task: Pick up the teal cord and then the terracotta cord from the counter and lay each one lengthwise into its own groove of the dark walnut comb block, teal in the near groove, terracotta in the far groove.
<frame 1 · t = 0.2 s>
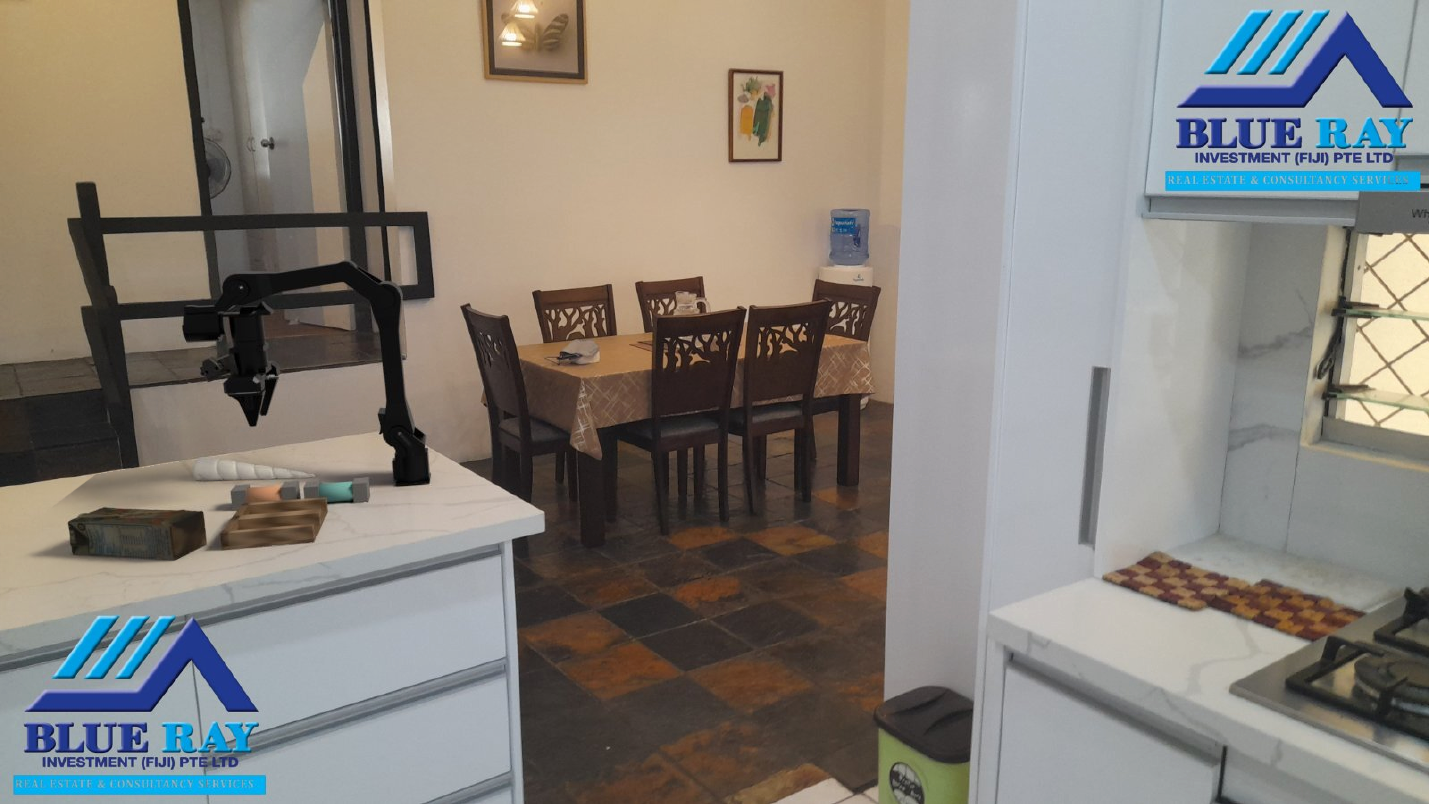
hand: (258, 420, 182), 14 cm above the countertop, tool pointing down, fingers open, 9 cm apart
terracotta cord: (267, 505, 178), on the countertop
comb block: (277, 530, 165), on the countertop
unicorn horn: (253, 479, 195), on the countertop
teal cord: (338, 501, 180), on the countertop
beverage carton: (141, 552, 156), on the countertop
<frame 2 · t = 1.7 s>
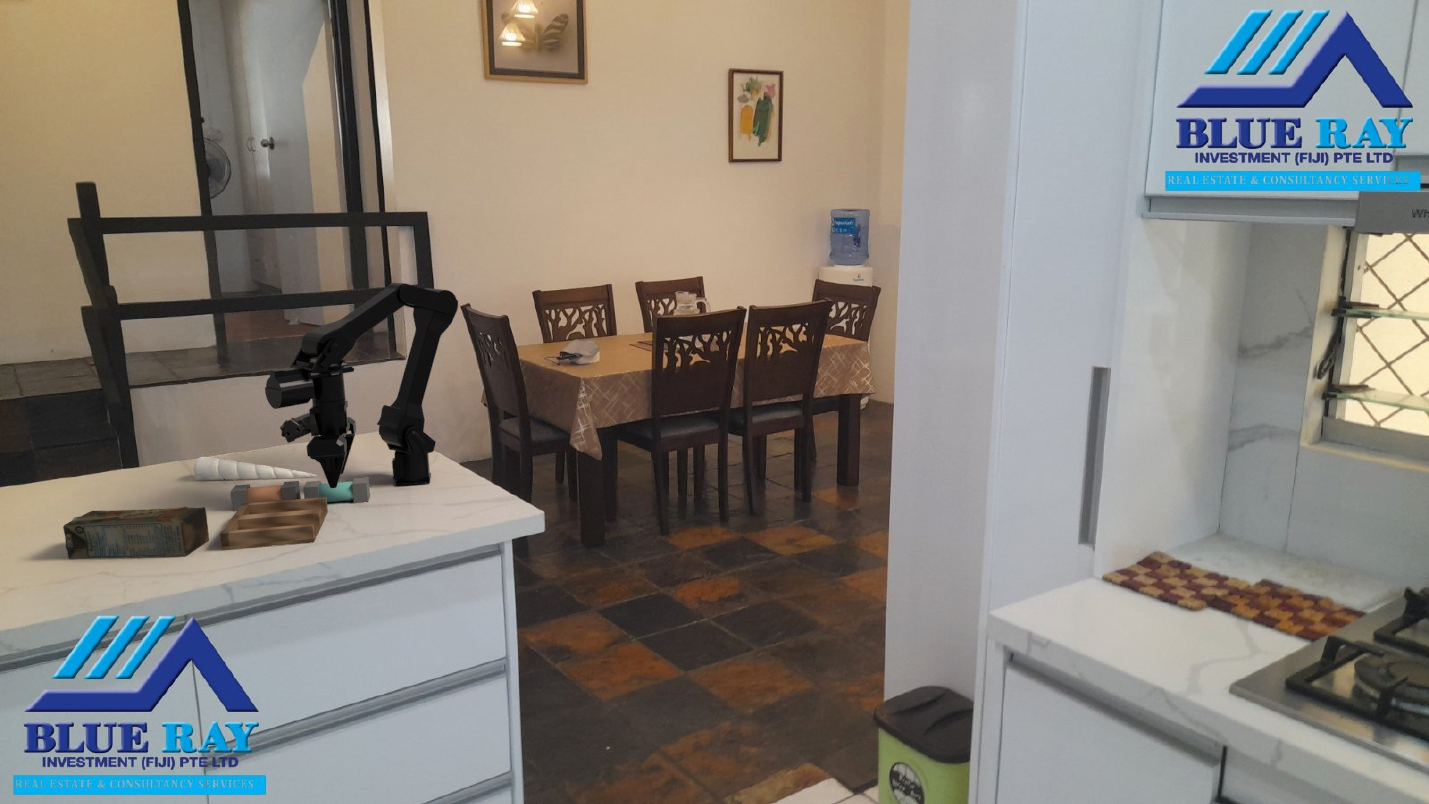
hand: (336, 480, 179), 4 cm above the countertop, tool pointing down, fingers open, 9 cm apart
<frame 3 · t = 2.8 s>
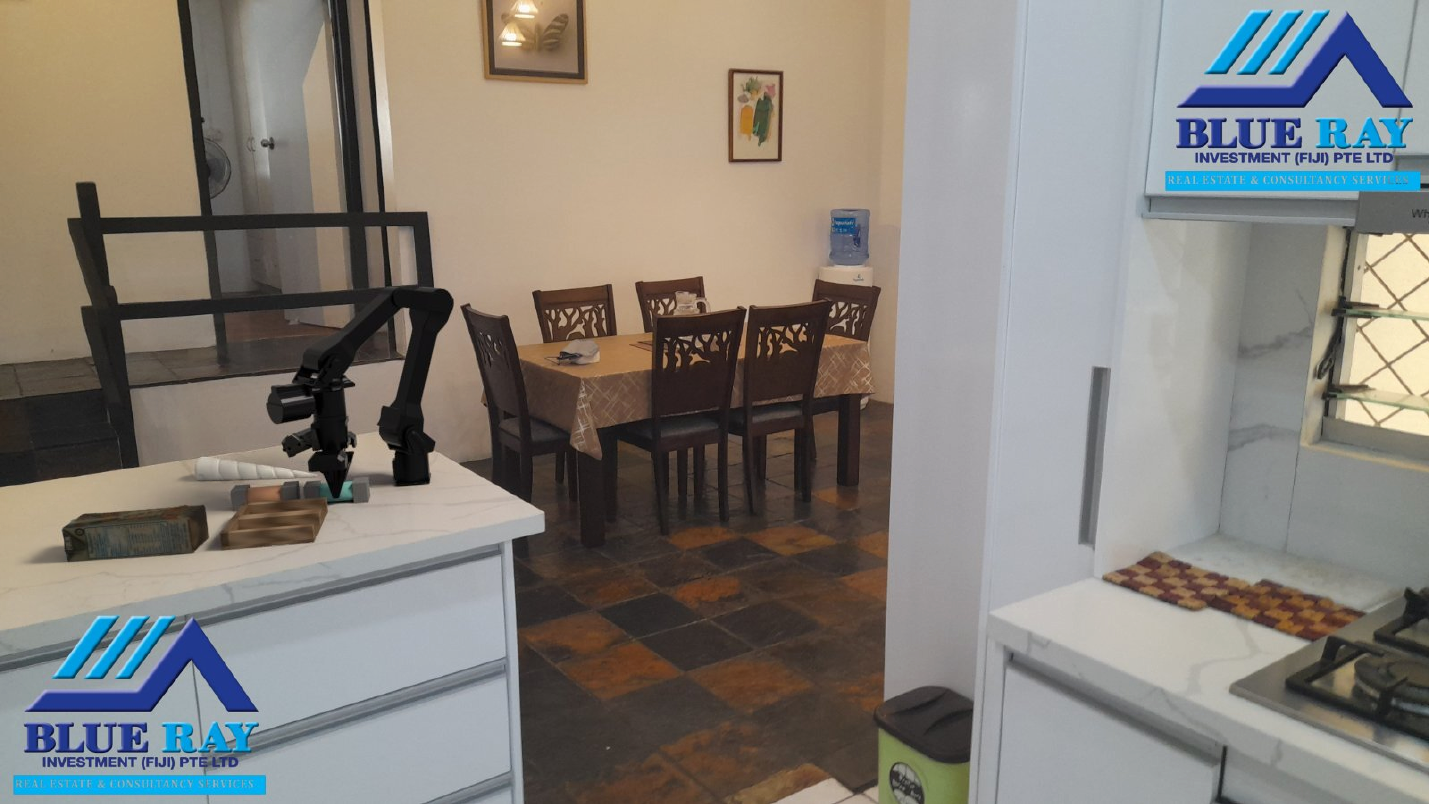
hand: (337, 495, 179), 1 cm above the countertop, tool pointing down, fingers closed on teal cord, 3 cm apart
teal cord: (338, 501, 180), on the countertop, touching gripper
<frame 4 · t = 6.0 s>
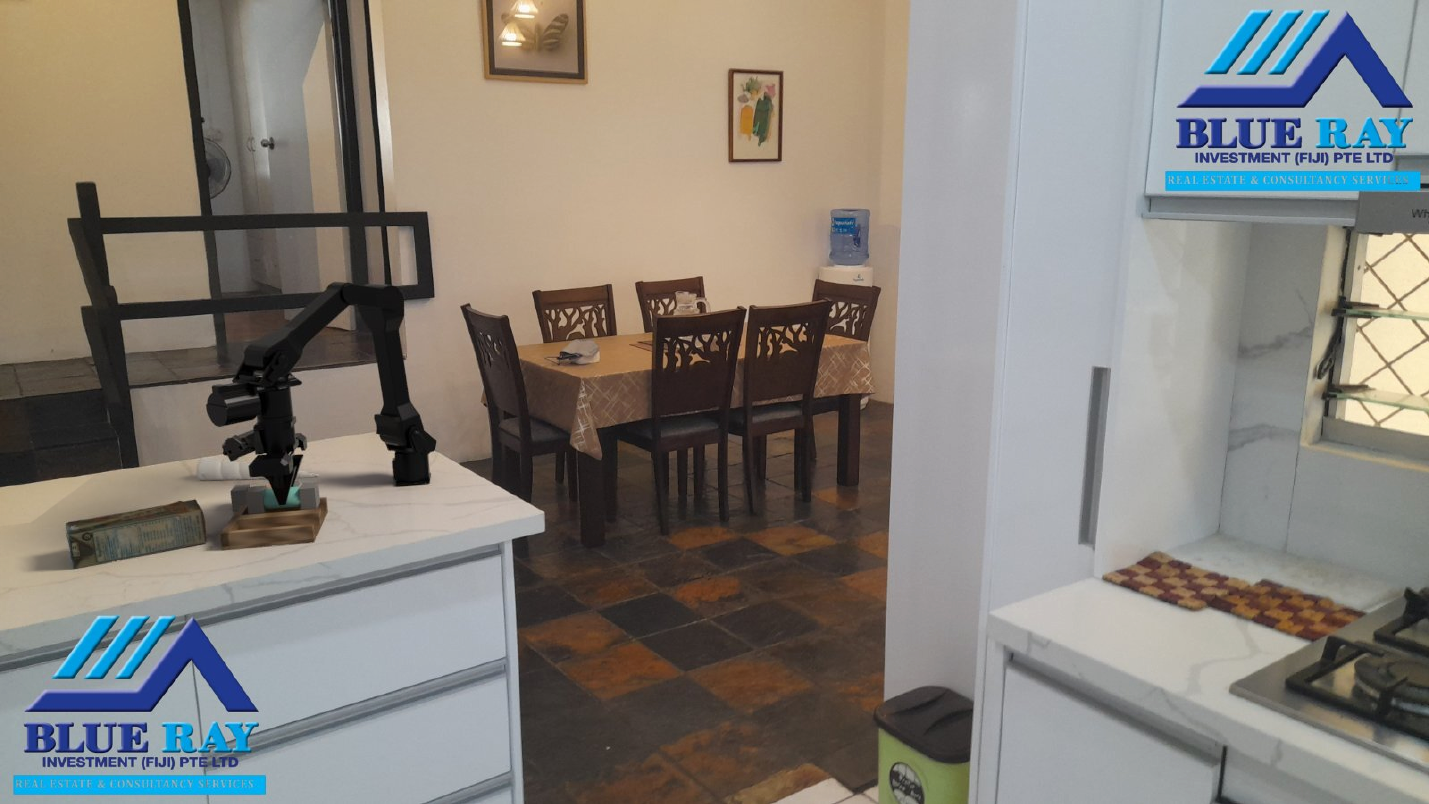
hand: (284, 501, 168), 4 cm above the countertop, tool pointing down, fingers closed on teal cord, 3 cm apart
teal cord: (284, 508, 168), point 3 cm above the countertop, touching gripper
when the fingers open (4 cm above the countertop, at t = 6.0 s): teal cord drops 2 cm, resting on comb block.
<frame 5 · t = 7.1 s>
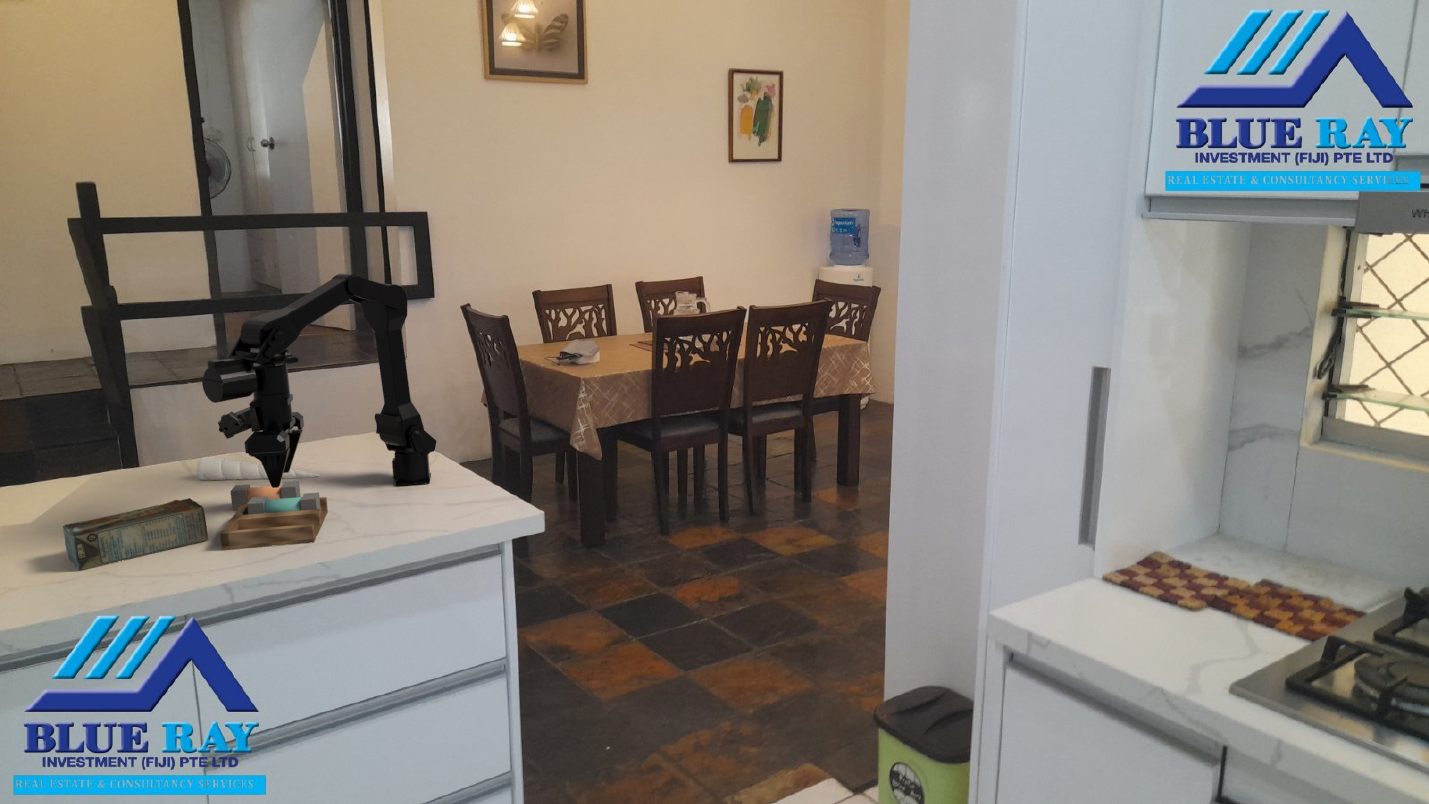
hand: (280, 479, 167), 8 cm above the countertop, tool pointing down, fingers open, 9 cm apart
teal cord: (286, 518, 168), point 1 cm above the countertop, touching comb block
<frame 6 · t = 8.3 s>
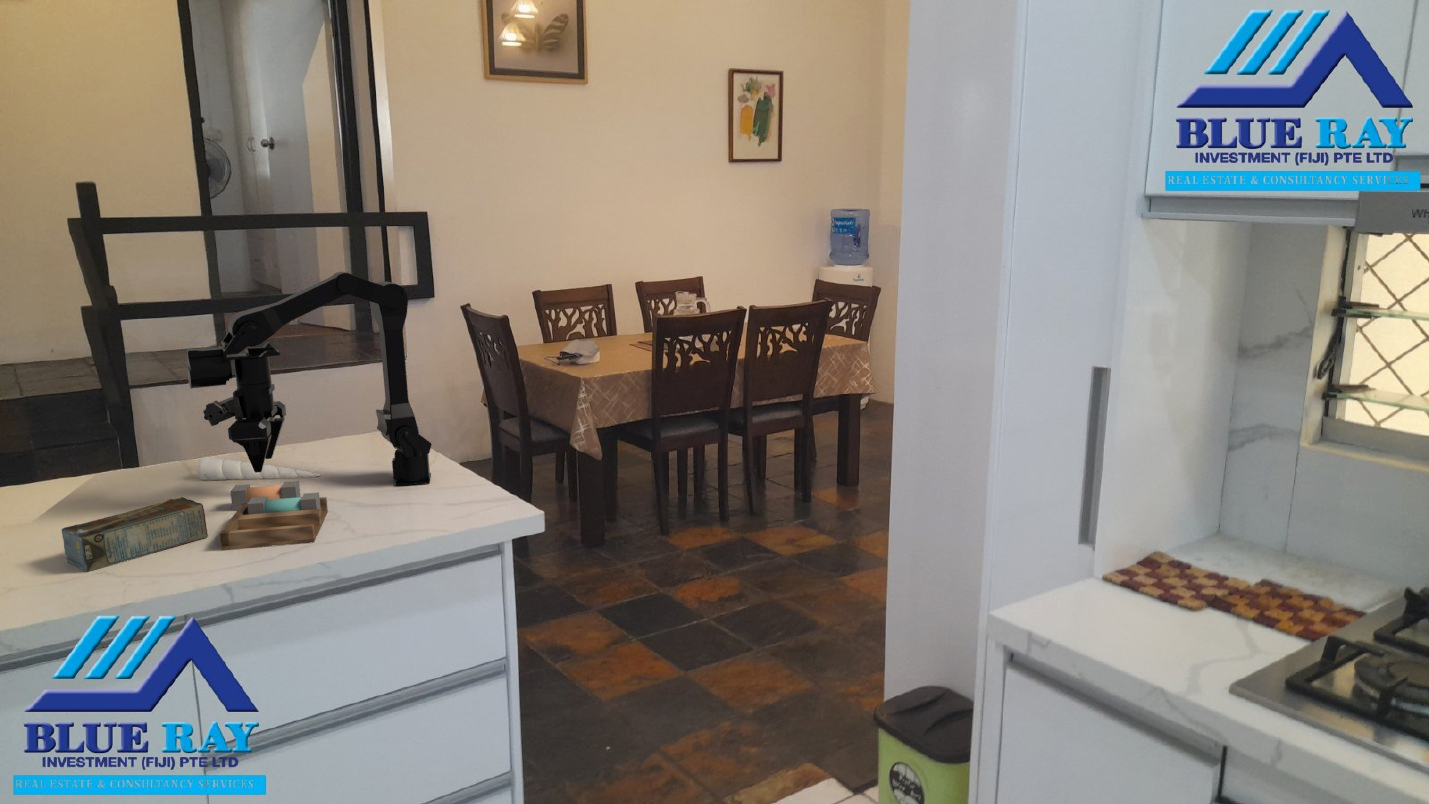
hand: (263, 465, 176), 8 cm above the countertop, tool pointing down, fingers open, 9 cm apart
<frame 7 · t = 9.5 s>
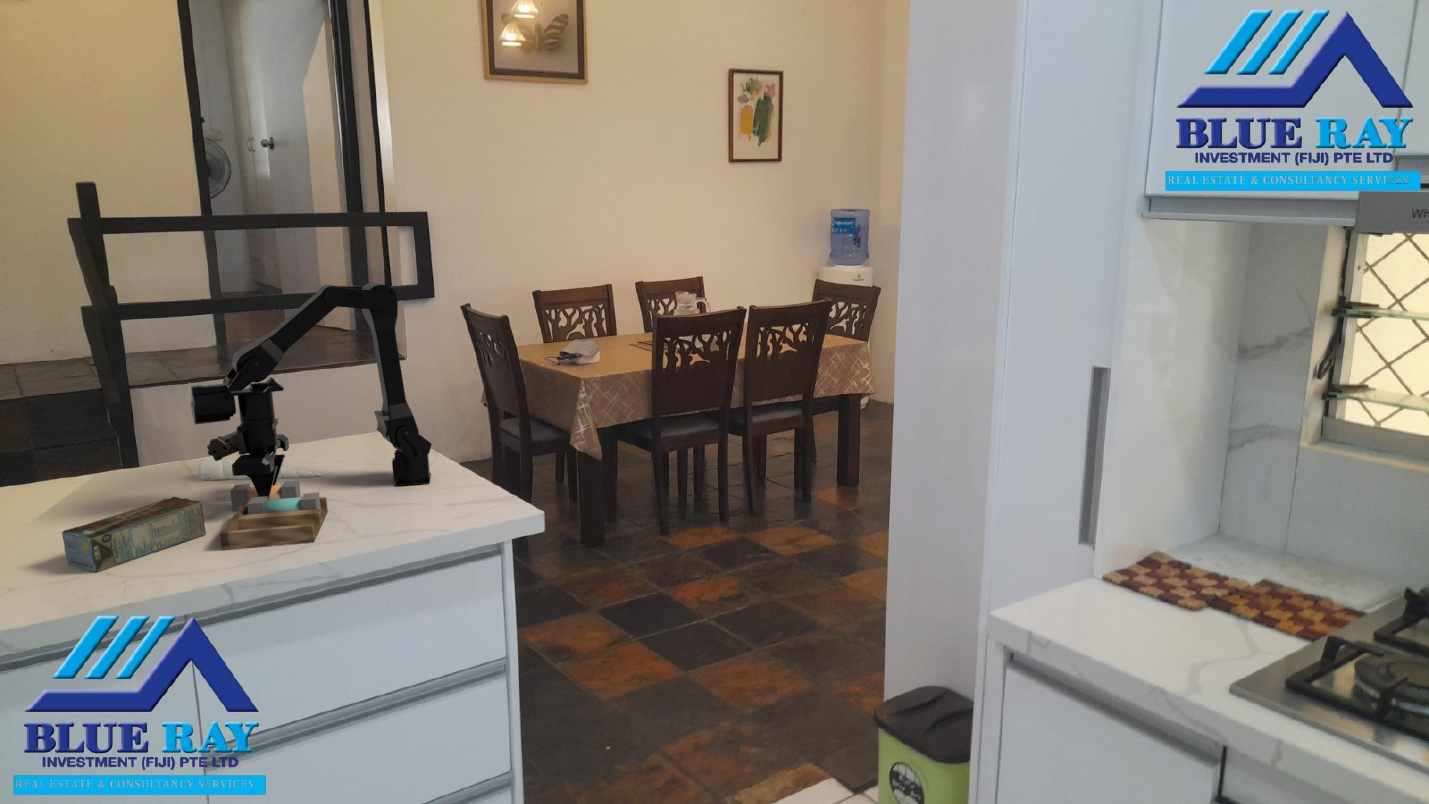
hand: (266, 498, 178), 1 cm above the countertop, tool pointing down, fingers closed on terracotta cord, 3 cm apart
terracotta cord: (267, 505, 178), on the countertop, touching gripper
when the fingers open (4 cm above the countertop, at t = 13.3 s): terracotta cord drops 2 cm, resting on comb block.
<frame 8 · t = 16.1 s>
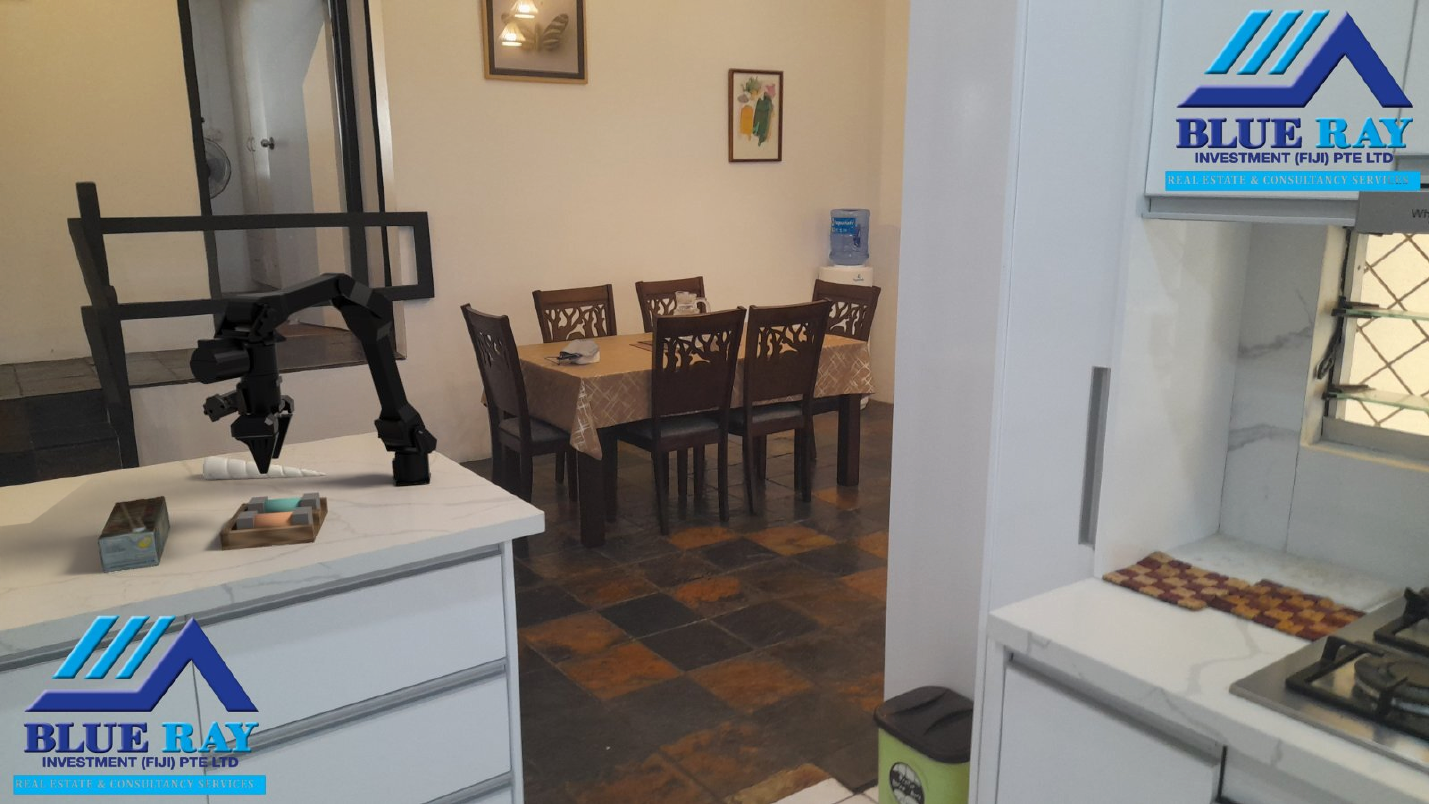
hand: (269, 466, 158), 12 cm above the countertop, tool pointing down, fingers open, 9 cm apart
terracotta cord: (276, 534, 161), point 1 cm above the countertop, touching comb block
at the end: teal cord 0.2 cm from the target spot on the comb block, point 0.6 cm above the comb block's base; terracotta cord 0.1 cm from the target spot on the comb block, point 0.6 cm above the comb block's base; the gripper is holding nothing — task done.
